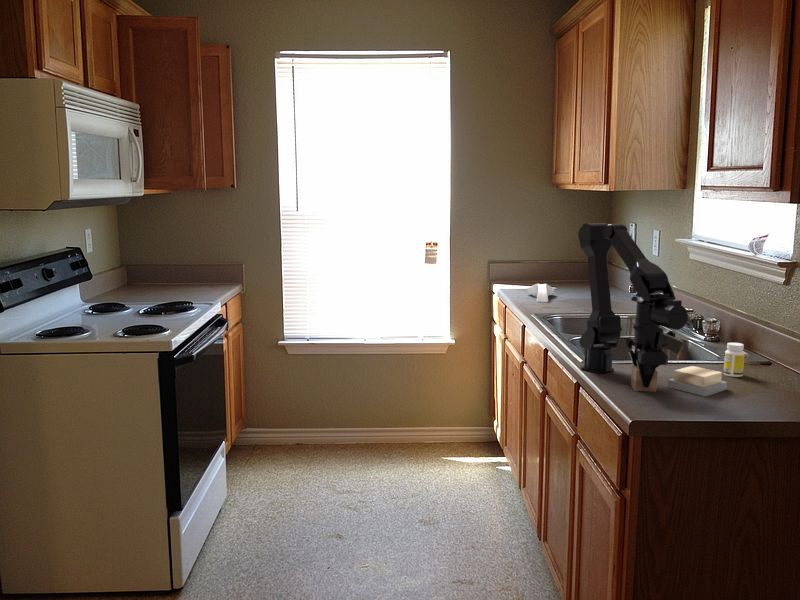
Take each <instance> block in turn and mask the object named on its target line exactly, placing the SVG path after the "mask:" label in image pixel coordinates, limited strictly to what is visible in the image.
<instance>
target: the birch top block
mask: <svg viewBox="0 0 800 600" xmlns="http://www.w3.org/2000/svg"><path fill="white" fill-rule="evenodd" d="M722 375H723V372H722V371H717V370H713V369H708V368H705V367H699V366H695V365H690V366H687V367H686V366H685V367H683V368H678V369H674V370H673V378H674V380H675V381H679V382H683V383H688V384H692V385H696V386H700V387H706V386H710V385H713V384H717V383H720V382H721V381H722Z"/></svg>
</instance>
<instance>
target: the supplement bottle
mask: <svg viewBox="0 0 800 600" xmlns="http://www.w3.org/2000/svg"><path fill="white" fill-rule="evenodd" d="M744 345H745V344H743V343H740V342H727V345H726V350H725V351H724V361H723V375H724V376H725V377H726V376H727V377H733V378H739V377H743V375H744V366H745V356H746V355H745V351H744Z"/></svg>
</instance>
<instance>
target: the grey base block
mask: <svg viewBox="0 0 800 600" xmlns="http://www.w3.org/2000/svg"><path fill="white" fill-rule="evenodd" d="M667 388H669V389H674V390H678V391H682V392H685V393H691V394H694V395H699V396H702V397H703V396H704V397H708V396H711V395H714V394H717V393H720V392H724V391H726V390H727V389H728V381H724V380H721V382H720V383H717V384H713V385H710V386H706V387H700V386H696V385H692V384H688V383H683V382H679V381H675V380H674V377H673V378H669V379H668V381H667Z"/></svg>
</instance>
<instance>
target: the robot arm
mask: <svg viewBox="0 0 800 600" xmlns="http://www.w3.org/2000/svg"><path fill="white" fill-rule="evenodd" d="M577 233H578V234H577V235H578V239H579V246H580V249H581V250H582V252H583V253H584V254H585V256H586V258H587V264H588V265H587V266H588V276H589V289H590V298H591V299H590V300H591V301H590V302H591V312H590V314H589V317H588V319H587V320H586V321H587V322H586V330H585V331H584V333H583V334H582V335H581V336H580V338H579V339H578V341H579V346H580V347H581V348H582V349H583V348H584V362H583V363H584V364H583V366H580V370H584V371H588V372H591V373H592V372H593V373H597V374H604V373H607V372H612V371H614V370H615V368H614V367H613V354H612V349H617V348H618V344H619V342H620V339H621V337H622V331H623V328H622V324H621V321H622V320H621V316H620V315H619V314H618V315H617V314H616V313H615V312H614V311H613V309H612V300H611V299H612V298H611V288H610V287H611V285H610V276H609V265H608V254H609V252H610V249H611V248H612V247H613V248H614V250H615V251H616V253H617V254H618V256H619V258H620V259H621V261H623V263H624V264H625V266H626V268H628V271H629V281H630V284H631V286H632V287H633V290H634V291H635V293H636V294H635V295H634V296H632V297H631V301H632V302H636V311H635V323H633V324H632V326H633V329H634V336H629V337H627V339H625V348H626V349H627V350H628V354H629V357H630V359H631V362H632V366H638V369H639V373H640V376H641V380H642V383H643V386H644V387H649V385H650V382H651V379H652V376H653V374H654V371H655V369H656V370H657V368H658V367H659V366H662V365H663V366H666V365H668V363H669V356H668V354H667V353H665V352H664V350H663V348H664V349H667V350H669V351H671V352H673V353H675V354H676V355H680V352H681V350H683V347H684V344H685V342H684V341H683V340H682V339H681V338H679V337H677V336H676V332H674V331H672V330H675V331H676V330H682V328H684V327H685V325H686V324H687V322H688V318H689V314H688V312H687V309H686V308H685V307H684V306H683V305H682V303H683V301H682V300H680V299H676V298H677V297H676V296H675V292H674V290H673V289H672V286H671V283H670V281H669V278H668V275H667V273H666V272H665V271H664V270H663V269H662V268H661V267H660V266H659V265H658V264H655V263H654V262H652V261H650V260H648V258H647V257H646V256H645V255H644V253H643V252H642V250H641V249H640V247H639V246H638V244H637V243H636V242H635V240H634V239H633V237H632V236H631V235H630V233H629V232H628V228H627V226H626V225H625V224H623V223H606V222H604V223H603V222H602V223H599V222H597V223H593V222H592V223H583V224H582V226H581V227H579V229H578V232H577ZM663 327H664V328H668V329H667V330H666V331H664V329H663Z"/></svg>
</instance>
